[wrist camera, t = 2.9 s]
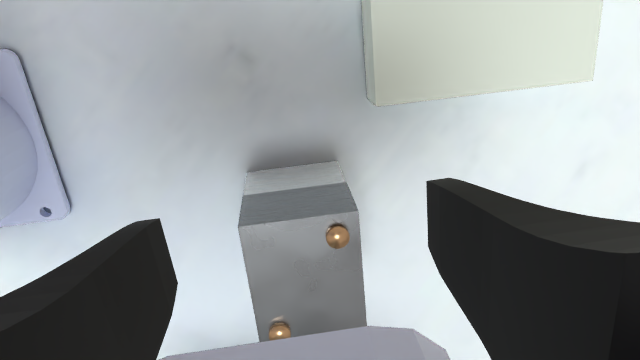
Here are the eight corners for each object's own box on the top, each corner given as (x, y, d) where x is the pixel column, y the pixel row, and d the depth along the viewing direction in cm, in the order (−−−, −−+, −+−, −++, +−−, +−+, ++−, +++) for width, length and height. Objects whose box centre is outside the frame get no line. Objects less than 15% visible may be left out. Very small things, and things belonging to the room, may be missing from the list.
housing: (264, 272, 24) (261, 355, 19) (246, 171, 22) (237, 230, 16) (346, 261, 25) (368, 339, 19) (337, 160, 22) (359, 214, 17)
